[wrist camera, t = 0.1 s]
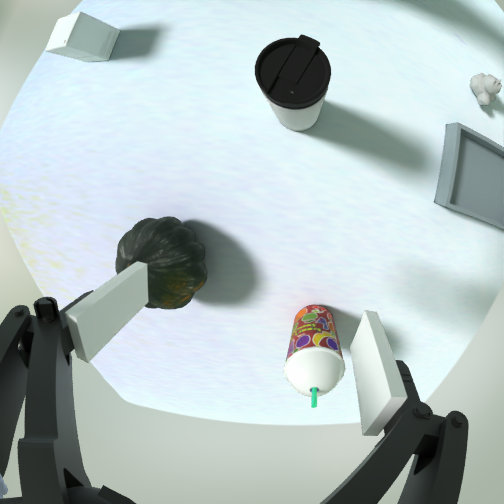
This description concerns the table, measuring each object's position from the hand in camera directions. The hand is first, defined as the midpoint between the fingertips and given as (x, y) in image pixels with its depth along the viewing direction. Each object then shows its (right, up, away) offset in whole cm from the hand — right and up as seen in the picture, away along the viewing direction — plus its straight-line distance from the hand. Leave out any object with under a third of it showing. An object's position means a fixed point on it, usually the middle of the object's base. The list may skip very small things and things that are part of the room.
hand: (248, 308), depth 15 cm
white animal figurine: (+39, +31, +12) cm, 51 cm away
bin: (+40, +15, +17) cm, 46 cm away
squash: (-13, +3, +32) cm, 35 cm away
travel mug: (+7, +24, +21) cm, 32 cm away
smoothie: (+11, -8, +31) cm, 34 cm away
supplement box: (-30, +45, +21) cm, 58 cm away
